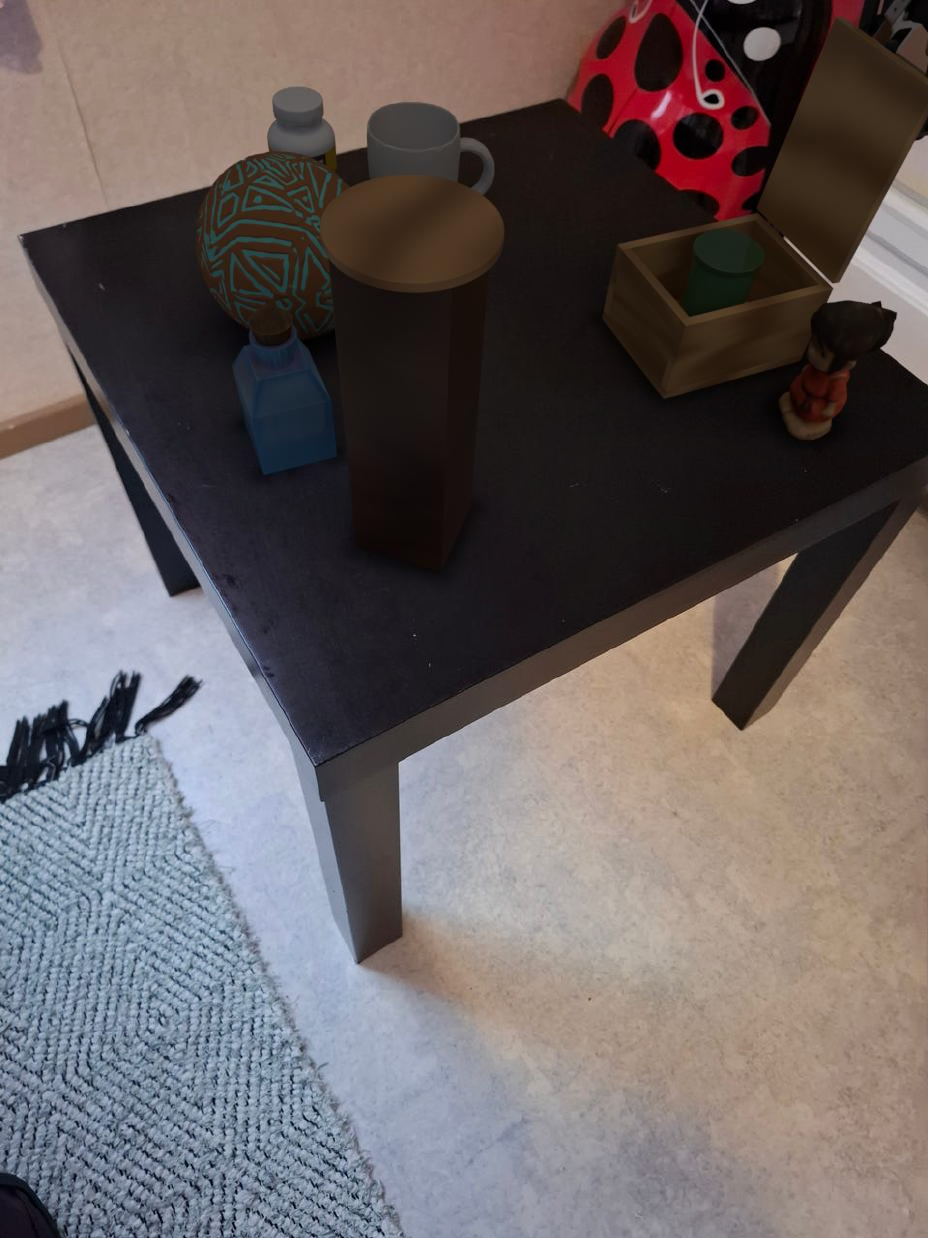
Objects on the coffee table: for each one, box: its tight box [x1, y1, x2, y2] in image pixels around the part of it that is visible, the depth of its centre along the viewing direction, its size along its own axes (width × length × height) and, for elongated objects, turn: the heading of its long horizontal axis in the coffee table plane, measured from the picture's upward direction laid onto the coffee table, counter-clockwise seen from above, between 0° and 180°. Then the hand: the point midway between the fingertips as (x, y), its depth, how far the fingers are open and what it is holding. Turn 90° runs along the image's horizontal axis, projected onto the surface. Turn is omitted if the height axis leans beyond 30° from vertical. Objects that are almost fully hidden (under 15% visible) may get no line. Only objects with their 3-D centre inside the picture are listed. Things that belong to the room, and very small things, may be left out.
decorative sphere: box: [195, 151, 351, 341], centre depth 75 cm, size 15×15×15 cm
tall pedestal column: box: [320, 175, 505, 574], centre depth 58 cm, size 10×10×26 cm
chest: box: [601, 212, 834, 400], centre depth 80 cm, size 15×12×8 cm
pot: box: [679, 230, 765, 317], centre depth 79 cm, size 6×6×8 cm
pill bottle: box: [266, 86, 339, 175], centre depth 86 cm, size 6×6×12 cm
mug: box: [366, 101, 495, 197], centre depth 87 cm, size 13×9×10 cm
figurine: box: [778, 299, 898, 441], centre depth 73 cm, size 6×6×12 cm
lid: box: [756, 16, 928, 285], centre depth 72 cm, size 16×12×5 cm
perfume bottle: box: [231, 307, 338, 476], centre depth 68 cm, size 6×6×12 cm
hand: (887, 119), depth 71 cm, fingers closed on lid, 5 cm apart
